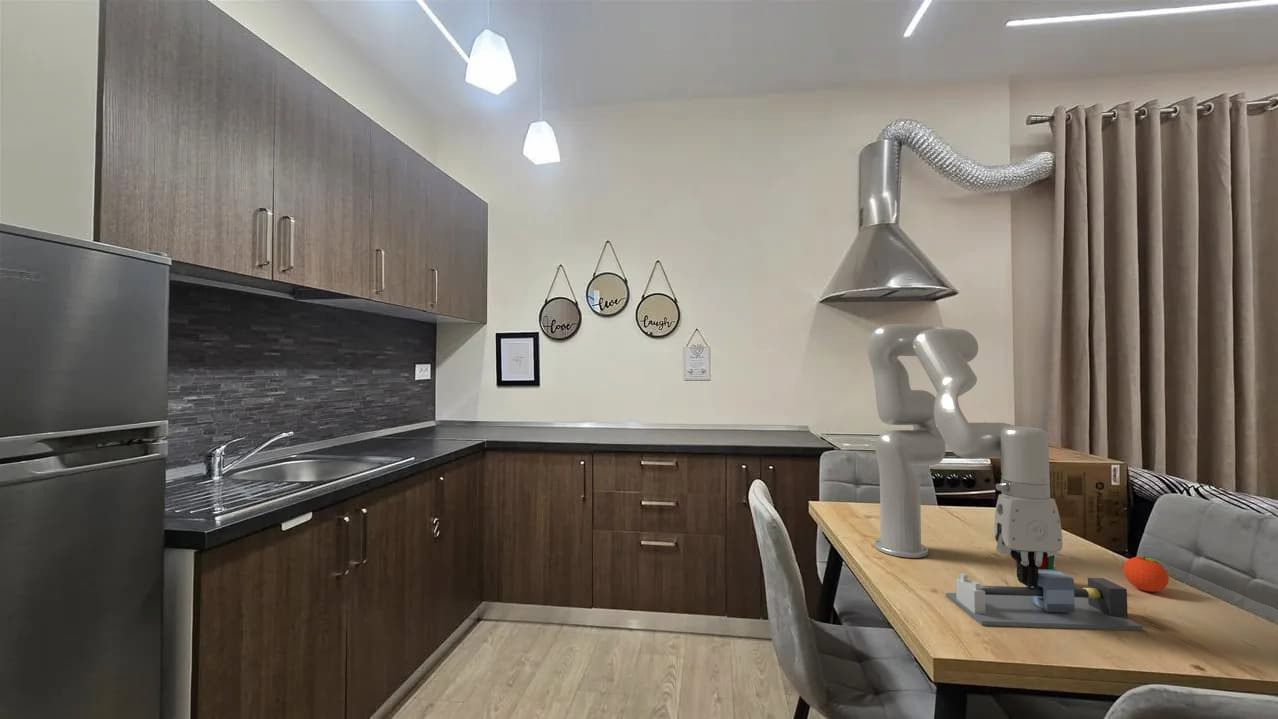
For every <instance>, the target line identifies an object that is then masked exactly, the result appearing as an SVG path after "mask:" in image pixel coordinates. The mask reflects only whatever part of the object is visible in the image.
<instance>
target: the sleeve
mask: <svg viewBox="0 0 1278 719" xmlns="http://www.w3.org/2000/svg"><path fill="white" fill-rule="evenodd" d="M1032 587H1033V586H1032ZM1038 587H1042V588H1043V596H1030V601H1031V602H1033V603H1034V604H1036V605H1037V606H1039V607H1041V608H1042V609H1044V610H1045V611H1047V612H1075V604H1074V588H1075V579H1074V578H1073V577H1071V576H1069V575H1066V574H1064V573H1063V572H1061V571H1059V570H1057V569H1056V570H1040V569H1038Z"/></svg>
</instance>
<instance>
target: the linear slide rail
mask: <svg viewBox="0 0 1278 719" xmlns="http://www.w3.org/2000/svg"><path fill="white" fill-rule="evenodd" d="M959 574H960V577H959V578H957V577H956V578H955V582H956V583H955V586H956V592H945V597H946V598H947V599H948V600H950V602H952V603H953V604H955V605H956V606H957V607H958V608H960V610H962V611H963V612H964V613H966V614H967V615H969V617H971V619H973V620H974V621H976V622H977V623H978V624H979V625H981V626H983V627H984V626H987V627H988V626H990V627H993V626H994V627H1013V628H1014V627H1016V628H1017V627H1021V628H1044V629H1045V628H1049V629H1050V628H1051V629H1052V628H1053V629H1076V630H1077V629H1080V630H1105V631H1106V630H1108V631H1109V630H1110V631H1111V630H1112V631H1135V632H1136V631H1137V632H1139V631H1142V632H1143V629H1144V628H1143V625H1141V624H1139V623H1137V622H1135V621H1134V620H1132V619H1130V618H1129V617H1128V616H1129V615H1128V613H1129V612H1128V589H1127V588H1125V587H1123V586H1121V585H1119V584H1117V583H1114V582H1113V581H1110V580H1108V579H1106V578H1104V577H1103V578H1102V577H1087V587H1082V588H1080V587H1079V588H1077V587H1076V588H1075V587H1074V604H1075V612H1047V611H1045V610H1044V609H1042V608H1041V607H1039V606H1037V605H1036V604H1034V603H1033V602H1031V601H1030V596H1043V588H1042V587H1027V586H1006V585H1004V586H1003V585H1001V586H1000V585H981V584H980V582H978V581H971V580H969V578H968V574H966V573H959Z"/></svg>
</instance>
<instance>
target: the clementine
mask: <svg viewBox="0 0 1278 719" xmlns="http://www.w3.org/2000/svg"><path fill="white" fill-rule="evenodd" d="M1160 563H1161V564H1160ZM1162 564H1164V562H1162V561H1161V560H1158V559H1154V558H1148V557H1147V556H1146V557H1145V556H1135V557H1132V558H1129V559H1127V560H1126V561H1125V563H1124V564H1123V568H1122V570H1123V571H1122V572H1123V576H1124V578H1125V579H1126V580H1127V582H1129V583H1130V584H1131V585H1132V586H1133V587H1134V588H1137V589H1138V590H1142V591H1143V592H1149V593H1150V592H1153V593H1154V592H1161V591H1162V590H1164V589H1165V588H1166V587H1167V586H1168V585H1169V580H1170V578H1169V573H1168V572H1167V570H1166V568H1164V566H1163V565H1162ZM1166 566H1167V567H1168V568H1169V569H1170V570H1171V571H1172V574H1174V571H1173V569H1172V568H1171V567H1170V566H1169V565H1168V564H1166Z"/></svg>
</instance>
